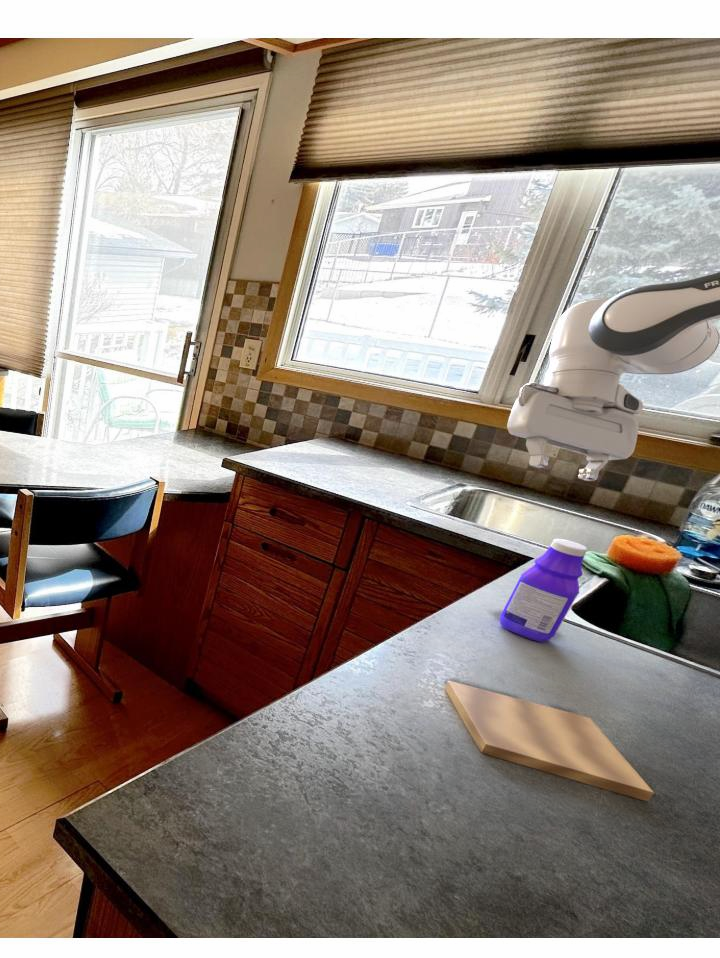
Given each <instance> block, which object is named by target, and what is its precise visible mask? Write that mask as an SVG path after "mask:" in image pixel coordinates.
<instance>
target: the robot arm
mask: <svg viewBox="0 0 720 958" xmlns="http://www.w3.org/2000/svg"><path fill="white" fill-rule="evenodd" d="M717 319H720V271H718V272H714V273H710V274H708V275H707V274H706V275H704V276H700V277H696V278H693V279H688V280H683V281H677V282H670V283H669V282H667V283H657V284H656V283H655V284H647V285H641V286H637V287H633V288H630V289H627V290H625V291H622V292H620V293H618V294H616V295H614V296H608V297H607V296H605V297H596V298H592V299H587V300H584V301H582V302H579V303H577V304H575V305H574V304H573V305H572V306H571V307H569V308H568V309H567V310H565V311H564V312H563V314H562V315H561V316H560V318H559V319H558V322H557V324H556V327H555V329H554V332H553V335H552V339H551V343H550V348H549V353H548V356H549V367H548V369H547V371H546V373H545V374H544V378H543V384H541V383H539V382H535V381H533V382H532V381H531V382H529V383H526V384H524V385H523V386H522V387H520V388H519V393H518V397H517V398H516V400H515V401H514V403H513V406H512V409H511V411H510V414H509V416H508V420H507V424H506V428H507V431H508V433H509V434H510V435H512V436H516V437H518V438H519V437H520V438H523V439H525V440H526V442H525V447H526V449H527V451H528V454H529V462H528V464H529V466H531V467H536V468H547V467H548V465H549V461H550V456H547V455H546V452H545V446H546V445H549V446H552V447H555V448H559V449H563V450H566V451H570V452H573V453H578V454H580V455H584V456H586V459H585V460H586V462H587V464H586V465H585V467H584V468H579V470H578V475H577V477H578V479H579V480H583V481H586V482H587V481H588V482H593V481H596V480H598V478H599V473H600V471H601V470H602V469H603V468H604V467H605V466H606V465H607V464H608V462H609V461H619V460H627V459H628V458H629V457H631V456H632V455H633V453H634V451H635V449H636V445H637V440H638V434H639V427H640V424H639V420H638V418H637V416H636V415H639V414H641V413H642V412H643V409H644V403H643V401H642V400H641V399H639V398H638V397H636V396H634V395H633V394H632V393H631V392H629V391H628V390H627V389H626V388H625V387H624V386H623V385H622V384H619V383H620V379H621V375H623V374H625V373H626V374H635V375H673V374H680V373H684V372H687V371H689V370H692V369H695V368H696V367H698V366H700V365H701V364H703V363H704V362H706V361H707V360H708V359H709V358H711V357H712V356H713V354H714V353H715V352H716V350H717V349H718V347H719V344H720V333H719V331H718V329H717V328H716V327H715V326H714V325H713V324H712V323H711V322H710V321H713V320H717Z"/></svg>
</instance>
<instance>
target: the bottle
mask: <svg viewBox="0 0 720 958" xmlns="http://www.w3.org/2000/svg"><path fill="white" fill-rule="evenodd" d="M587 552H588V548H587V547H586V546H585V545H583V544H580V543H578V542H575V541H572V540H568V539H565V538H564V539H563V538H554V539H553V540H552V542H551V544H550V546H549V547H548V548H547V550H546V551H545V552H544V553H543V554H542V555H540V556H539V557H537V558H535V559H534V565H532V566H530V567H529V568H527V569H526V570H525V571H524V572H522V573H521V574H520V577H519V579H518V581H517V583H516V584H515V587H514V588H513V590H512V592H511V594H510V596H509V597H508V600H507V601H506V604H505V606H504V608H503V610H502V612H501V613H500V615H499V623H500V626H502V628H504V629H505V630H508V631H510V632H512V633H515V634H516V635H519V636H521V637H524V638H526V639H529V640H532V641H535V642H541V643H543V642H547V641H549V640H551V639H552V638H554V637H555V636H556V635H557V633H558V630H559V629H560V627H561V625H562V624H563V621H564V620H565V618H566V616H567V614H568V613H569V611H570V609H571V608H572V605H573V604H574V602H575V600H576V599H577V597H578V595H579V594H580V584H579V578H581V577H583V575H584V573H583V570H582V564H583V560H584V558H585V556H586V553H587Z"/></svg>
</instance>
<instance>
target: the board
mask: <svg viewBox="0 0 720 958" xmlns="http://www.w3.org/2000/svg"><path fill="white" fill-rule="evenodd" d="M444 690H445V692H446V694H447V696H448V698H449V699H450V700H451V703H452V704H453V706H454V707H455V709H456V711H457V713H458V715H459V716H460V718H461V720H462V722H463V723H464V726H465V727H466V729H467V730H468V732H469V734H470V736H471V738H472V739H473V741H474V742H475V744H476V746H477V748H478V750H479V751H480V753H481V754H483V755H487V756H491V757H494V758H498V759H500V760H504V761H508V762H511V763H514V764H517V765H521V766H525V767H528V768H532V769H535V770H539V771H541V772H545V773H548V774H552V775H554V776H555V775H556V776H559V777H562V778H566V779H569V780H573V781H575V782H579V783H582V784H586V785H588V786H589V785H590V786H592V787H596V788H600V789H603V790H606V791H608V792H609V791H610V792H613V793H617V794H620V795H622V796H626V797H630V798H633V799H636V800H641V801H644V802H647V803H648V802H649V801H650V799H651V798H652V797H653V795H654V794H655V791H653V790H652V788H651V787H650V786H649V785H648V783H647V782H646V781H645V780H644V779H643V778H642V777H641V775H639V773H638V772H637V771H636V769H634V767H633V766H632V765H631V764H630V763H629V761H628V760H627V759H626V758H625V757H624V755H623V754H621V753H620V751H619V750H618V748H616V746H615V745H614V744H613V743H612V741H610V739H609V738H608V737H607V736H606V735H605V734H604V733H603V731H602V730H601V728H599V727H598V726H597V724H596V723H595V722H594V721H593V720H592V719H591V718H590V717H588V716H584V715H581V714H577V713H574V712H570V711H566V710H562V709H560V708H554V707H551V706H547V705H543V704H539V703H536V702H531V701H528V700H524V699H521V698H516V697H513V696H510V695H505V694H501V693H498V692H493V691H490V690H486V689H483V688H479V687H475V686H472V685H467V684H463V683H459V682H457V681H453V680H447V682H446V684H445V686H444Z"/></svg>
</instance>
